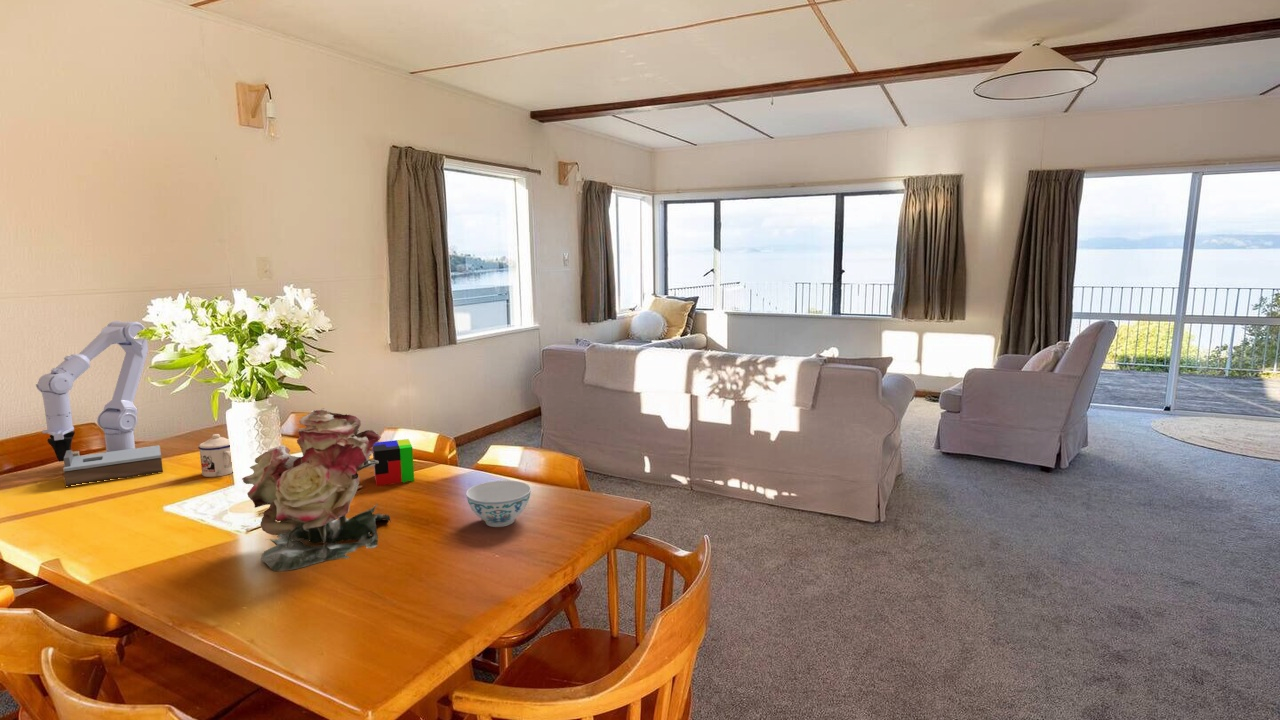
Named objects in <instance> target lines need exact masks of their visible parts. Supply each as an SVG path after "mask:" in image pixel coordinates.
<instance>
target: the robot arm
mask: <svg viewBox="0 0 1280 720" xmlns="http://www.w3.org/2000/svg"><path fill="white" fill-rule="evenodd" d="M143 329H146V330H147V328H146V327H145V326H144V325H143V324H142V323H141V322H139V321H119V320H113V321H111V322H109V323H108V324H107V326H104V327H103V328H101V331H100V333H99V334H98V335H97V336H95V338H94V339H93V340H91V342H89V344H88V345H86V346H85V348H83V349H82V350H81V351H80V352H79V353H77V354H76V353H73V354H70V355H66V356H65V357H63V361H62V362H60V363H59V365H57V366H56V367H53V368H52V369H50V372H49V373H45V374H43V375H41V376H40V377H39V379H38V381H37V384H35V387H36V389H37V390H38V391H39V392H40V393H41V395H42V400H43V406H44V413H45V414H44V415H45V421H46V429H43V430H42V431H41V433H42V434H48V435H49V437H50V438H48V439H47V443H48V444H49V445H50V446H51V448H52V449H53V452H54V454H55V456H56V459H57V461H58V462H59V463H61V462H64V456H65V454H66V451H67V450H72V442H73V439H74V435H75V433H76V432H75V427H74V423H73V417H72V408H71V401H70V393H69V391H71V390H72V389H73V387H74V382H75V381H76V380H77V379H78V378H79V377H80V376H82V374H84V373H85V372H86V371H87V370H88V369H89V368H90V367H91V361H92V360H93V359H95V358H96V357H97V356H99V355H100V354H101V353H103V352H104V351H105V350H106V349H108V348H109V347H110V346H111V345H114V344H115V345H116V344H117V345H118V346H120V347H121V348H122V350H123V351H124V352H125V354H124V358H123V362H122V365H121V368H120V371H119V375H118V378H117V381H116V386H115V388H114V391H113V395H112V398H111V400H110V401H109V402H107V403H106V404H105V405H104V406H103V409H102V411H101V412H100V413H99V415H98V416H97V425H98V427H99V428H101V429H102V432H103V433H104V439H105V440H104V442H105V443H104V444H105V451H106V452H112V451H119V450H127V449H134V448H136V444H135V443H136V442H135V436H134V434H135V433H134V431H135V428H136V426H137V424H138V416H137V414H138V408H137V407H136V406H135V404H134V402H135V397H136V394H137V391H138V387H139V383H140V379H141V377H142V373H143V370H144V366H145V362H146V360H147V356H148V352H149V345H148V339H147V338H146V339H134V337H135V336H136V335H137V333H138V332H139V331H141V330H143Z"/></svg>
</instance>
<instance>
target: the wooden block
mask: <svg viewBox="0 0 1280 720" xmlns="http://www.w3.org/2000/svg"><path fill="white" fill-rule="evenodd" d="M72 453H73V457H74V456H81V455H80V451H79V450H76V451H72Z"/></svg>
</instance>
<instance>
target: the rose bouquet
mask: <svg viewBox="0 0 1280 720" xmlns="http://www.w3.org/2000/svg"><path fill="white" fill-rule="evenodd" d="M324 409H325V407H324V408H322V409H320V410H319V409H317V410H314V409H313V410H311V412H310V413H308V414H307V415H304V416H301V418H299V420H298V423H299V424H300V425H303V426H305V427H301V428H298V429H297V433H298V435H299V437H298V439H296V444H297V445H298V446H299V448H300V450H301V453H302V456H295V455H291V454H290V452H291V449H290V448H289V447H287V446H286V445H285V444H281V445H279V446H276V447H273V448H270V449H268V450H267V451H265V452H263V453H262V454H260V455H258V456H257V457H256V458H255V459H254V463H255V464H254V465H251V466H249V469H252V471H253V473H252V474H249V475H247V476H244V477H242V478H241V481H242V483H244V484H245V485H253V486H252V487H251V488H250V490H249V491H248V492H247V497H248V498H249V499H250V500H251V501H252V503H253V504H254V508H260V507H262V506H266V505H269V508H267V509H266V510H264V512H260V513H258V516H261V515H262V514H263V517H261V521H260V524H259V526H260V527H261V530H262V531H263V532H265V533H266V534H269V535H271V536H277V538H275V539H270V538H269V539H266V540H270V541H272V542H273V543H275V544H276V545H275V546H273V547H272V546H271V547H270V548H268V549H267V550H264V551H263V553H262V555H261V562H262V563H264V564H266V565H267V566H268V567H269V569H271V570H272V571H273V572H274V573H275V572H283V571H285V572H286V571H293V570H297V569H301V568H305V567H308V566H309V567H310V566H312V565H315V564H319V563H322V562H327V561H331V560H332V561H333V560H337V559H350V558H351V557H350V556H348V555H347V554H349V553H350V554H351V553H353V552H356V551H357V550H358V548H360V547H363V546H366V547H365V549H374V548H376V547H378V543H379V540H378V539H379V534H378V530H377V524H376V523H377V522H378V521H389V523H391V522H392V521H391V517H390V515H389V514H386V513H385V514H382V513H376V514H375V513H374V512H375V510H376V508H377V507H378V506H379V504H376V505H374V507H372V508H369V509H367V510H365V511H362V512H360V513H358V514H356V515H354V516H352V517H351V518H347V516H346V515H347V514H348V513H349V511H350V505H351V503H352V501H353V499H354V497H355V495H356V494H357V491H358V487H359V484H360V476H359V474H358V472H360V471H362V470H363V469H366V468H370V467H374V465H375V464H377V463H379V461H377V460H373V459H370V458H371V456H372V455H373V449H372V448H373V445H374V444H375V443H377V442H379V441H380V440H381V439H382V435H381V436H380V435H379V434H378V433H376V432H375V431H374V430H373V429H367V430H364V431H361V432H359V429H360V427H361V426H362V421H361V420H360V418H359V417H358V416H357V415H351V414H347V413H346V414H343V413H333V412H332V411H330V410H324ZM358 432H359V433H358ZM296 539H297V540H296ZM298 539H299V540H298ZM302 540H308V543H309V544H319V543H323V545H322V544H320V545H307V544H304V542H303V541H302ZM356 540H357V541H356ZM341 541H343V542H341ZM347 541H355V542H347Z"/></svg>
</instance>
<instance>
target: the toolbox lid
mask: <svg viewBox="0 0 1280 720" xmlns="http://www.w3.org/2000/svg"><path fill="white" fill-rule="evenodd" d="M72 452H73V449H71V450H67V451H66V454H65V456H64V461H63V463H64V466H63V468H62V469H63V470H62V471H63V472H64V471H71V470H78V469H85V468H92V467H99V466H106V465H113V464H120V463H127V462H134V461H141V460H148V459H155V458H161V459H162V453H161V446H160V445H159V444H157V445H151V446H143V447H135V448H134V449H127V450H119V451H112V452H107V451H106V452H98V453H90V454H84V455H80V456H74V457H73V453H72ZM98 459H102V460H98ZM91 460H96V461H91ZM83 461H88V462H83Z"/></svg>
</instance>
